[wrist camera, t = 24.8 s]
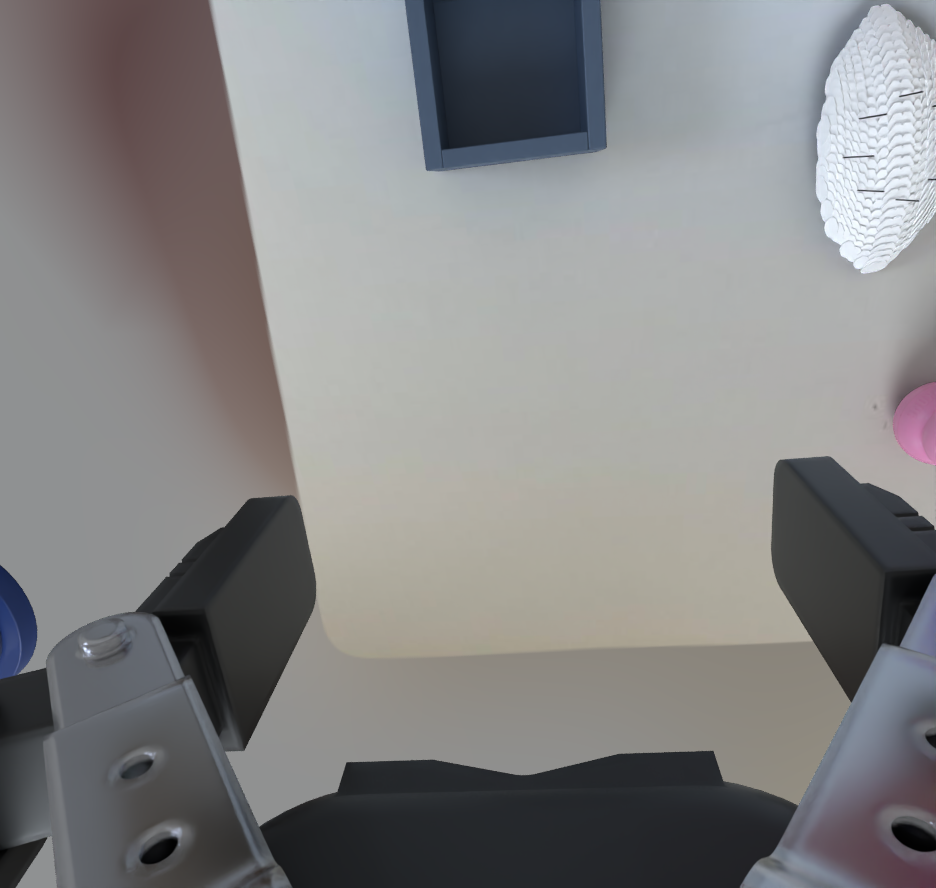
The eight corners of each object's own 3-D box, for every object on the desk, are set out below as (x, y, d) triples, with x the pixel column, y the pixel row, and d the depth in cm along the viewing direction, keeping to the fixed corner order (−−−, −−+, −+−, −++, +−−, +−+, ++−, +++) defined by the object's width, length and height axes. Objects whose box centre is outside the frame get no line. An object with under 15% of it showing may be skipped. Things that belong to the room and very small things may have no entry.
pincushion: (804, 20, 33) (857, -9, 28) (945, -6, 32) (1026, -41, 27) (804, 280, 37) (850, 298, 32) (928, 262, 36) (997, 277, 31)
